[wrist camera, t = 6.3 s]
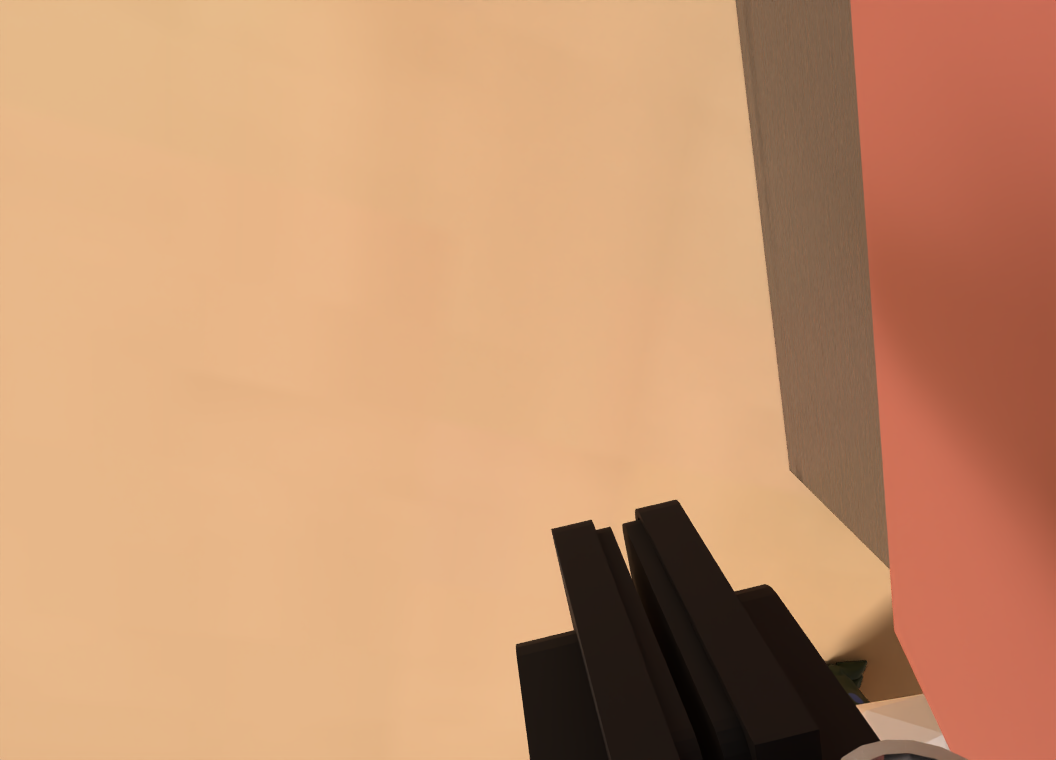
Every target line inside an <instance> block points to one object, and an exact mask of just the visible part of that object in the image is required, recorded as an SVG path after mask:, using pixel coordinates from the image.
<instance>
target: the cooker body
mask: <svg viewBox="0 0 1056 760" xmlns="http://www.w3.org/2000/svg"><path fill="white" fill-rule="evenodd" d="M736 7H737V16H738V24H739V33H740V42H741V50H742V59H743V68H744V76H745V85H746V94H747V102H748V111H749V120H750V128H751V137H752V146H753V154H754V163H755V172H756V180H757V189H758V198H759V206H760V215H761V224H762V232H763V241H764V250H765V259H766V267H767V276H768V285H769V293H770V302H771V311H772V319H773V328H774V337H775V345H776V354H777V363H778V371H779V380H780V389H781V397H782V406H783V415H784V423H785V432H786V441H787V449H788V458H789V467H790V471H791V472H792V473H793V474H794V475H795V476H796V477H797V478H798V479H799V480H800V481H801V482H802V483H803V484H804V485H805V486H806V487H807V488H808V489H809V490H810V491H811V492H812V493H813V494H814V495H815V496H816V497H817V498H818V499H819V500H820V501H821V502H822V503H823V504H824V505H825V506H826V507H827V508H828V509H829V510H830V511H831V512H832V513H833V514H835V515H836V516H837V517H838V518H839V519H840V520H841V521H842V522H843V523H844V524H845V525H846V526H847V527H848V528H849V529H850V530H851V531H852V532H853V533H854V534H855V535H856V536H857V537H858V538H859V539H860V540H861V541H862V542H863V543H864V544H865V545H866V546H867V547H868V548H869V549H870V550H871V551H872V552H873V553H874V554H875V555H876V556H877V557H878V558H879V559H880V560H881V561H882V562H883V563H884V564H885V565H886V566H887V567H888V568H889V569H890V563H889V548H888V534H887V520H886V505H885V491H884V477H883V462H882V448H881V434H880V419H879V405H878V391H877V376H876V362H875V348H874V333H873V319H872V305H871V290H870V276H869V262H868V247H867V233H866V219H865V204H864V190H863V176H862V161H861V147H860V133H859V118H858V104H857V90H856V75H855V61H854V46H853V32H852V18H851V3H850V0H736Z"/></svg>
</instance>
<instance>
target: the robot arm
mask: <svg viewBox="0 0 1056 760" xmlns="http://www.w3.org/2000/svg"><path fill="white" fill-rule="evenodd" d="M635 518H636V521H632V522H628V523H624V524H623V525H622V526H623V534H624V540H625V545H626V550H627V555H628V561H629V566H630V571H631V576H632V578H631V576H630V573H629V571H628V568H627V566H626V563H625V561H624V559H623V556H622V554H621V551H620V549H619V546H618V544H617V541H616V539H615V536H614V534H613V532H612V529H611V527H607V528H603V529H599V530H596V529H595V527H594V524H593V522H592V520H588V521H584V522H580V523H575V524H571V525H567V526H563V527H559V528H554V529H551V530H552V535H553V539H554V544H555V548H556V553H557V557H558V562H559V566H560V570H561V575H562V579H563V584H564V588H565V593H566V597H567V601H568V606H569V610H570V615H571V619H572V623H573V628H574V631H569V632H565V633H561V634H557V635H553V636H549V637H545V638H540V639H536V640H532V641H528V642H524V643H520V644H516V654H517V663H518V670H519V678H520V686H521V693H522V701H523V709H524V716H525V724H526V732H527V739H528V747H529V755H530V760H968V759H966V758H964V757H962V756H960V755H958V754H955V753H953V752H951V751H949V750H947V749H945V748H942V747H940V746H935V745H931V744H927V743H923V742H918V741H914V740H883V741H880V739H879V738H878V736H877V735H876V733H875V732H874V731H873V729H872V728H871V726H870V725H869V724H868V722H867V721H866V719H865V718H864V716H863V715H862V714H861V712H860V711H859V709H858V708H857V707H856V705H855V704H854V702H853V701H852V700H851V698H850V697H849V695H848V694H847V692H846V691H845V690H844V688H843V687H842V685H841V684H840V683H839V681H838V680H837V678H836V677H835V675H834V674H833V673H832V671H831V670H830V668H829V667H828V666H827V664H826V663H825V661H824V660H823V658H822V657H821V656H820V654H819V653H818V651H817V650H816V649H815V647H814V646H813V644H812V643H811V641H810V640H809V639H808V637H807V636H806V634H805V633H804V632H803V630H802V629H801V627H800V626H799V624H798V623H797V622H796V620H795V619H794V617H793V616H792V615H791V613H790V612H789V610H788V609H787V607H786V606H785V605H784V603H783V602H782V600H781V599H780V598H779V596H778V595H777V593H776V592H775V591H774V590H773V589H772V588H771V587H770V586H768V585H766V584H764V585H760V586H756V587H752V588H748V589H743V590H739V591H735V592H734V590H733V589H732V587H731V586H730V584H729V582H728V581H727V579H726V578H725V576H724V574H723V573H722V571H721V569H720V568H719V566H718V565H717V563H716V561H715V560H714V558H713V556H712V555H711V553H710V552H709V550H708V548H707V547H706V545H705V544H704V542H703V540H702V539H701V537H700V535H699V534H698V532H697V531H696V529H695V527H694V526H693V524H692V522H691V521H690V519H689V518H688V516H687V514H686V513H685V511H684V510H683V508H682V506H681V505H680V503H679V502H678V501H677V500H672V501H668V502H664V503H660V504H656V505H651V506H647V507H643V508H639V509H636V510H635Z"/></svg>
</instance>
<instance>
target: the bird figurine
mask: <svg viewBox="0 0 1056 760" xmlns="http://www.w3.org/2000/svg"><path fill="white" fill-rule="evenodd" d="M866 665H867V661H866V660H863V661H850V662H843V663H842V662H837V663H836V665H828V667H829V668H830V670H831V671H832V673H833V674H834V675H835V677H836V678H837V680H838V681H839V683H840V684H841V685H842V687H843V688H844V690H845V691H846V692H847V694H848V695H849V697H850V698H851V700H852V701H853V702H854V704H855V705H856V707H857V708H858V709H859V711H860V712H861V714H862V715H863V716H864V718H865V719H866V721H867V722H868V724H869V725H870V726H871V728H872V729H873V731H874V732H875V733H876V735H877V736H878V738H879V739H880V741H883V740H914V741H918V742H923V743H927V744H931V745H935V746H940V747H942V748H945V749H947V750H949V751H950V749H949V747H948V745H947V743H946V741H945V738H944V736H943V734H942V732H941V730H940V728H939V726H938V723H937V721H936V719H935V717H934V715H933V713H932V711H931V708H930V706H929V704H928V702H927V700H926V698H925V696H924V694H919V695H913V696H907V697H901V698H895V699H889V700H883V701H877V702H870V701H868V700H867V699H866V698H865V696H864V695H863V694H862V693H861V691H860V690H859V688H860V685H861V682H862V678H863V676H862V674H863V672H864V671H865V668H866Z"/></svg>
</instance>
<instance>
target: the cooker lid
mask: <svg viewBox="0 0 1056 760" xmlns="http://www.w3.org/2000/svg"><path fill="white" fill-rule="evenodd" d="M850 3H851V18H852V32H853V46H854V61H855V75H856V90H857V104H858V118H859V133H860V147H861V161H862V176H863V190H864V204H865V219H866V233H867V247H868V262H869V276H870V290H871V305H872V319H873V333H874V348H875V362H876V376H877V391H878V405H879V419H880V434H881V448H882V462H883V477H884V491H885V505H886V520H887V534H888V548H889V563H890V577H891V591H892V606H893V620H894V631H895V633H896V636H897V638H898V640H899V642H900V644H901V646H902V648H903V651H904V653H905V655H906V657H907V659H908V661H909V663H910V666H911V668H912V670H913V672H914V674H915V676H916V678H917V681H918V683H919V685H920V687H921V689H922V691H923V693H924V696H925V698H926V700H927V702H928V704H929V706H930V708H931V711H932V713H933V715H934V717H935V719H936V721H937V723H938V726H939V728H940V730H941V732H942V734H943V736H944V738H945V741H946V743H947V745H948V747H949V749H950V751H951V752H953V753H955V754H958V755H960V756H962V757H964V758H966V759H968V760H1056V0H850Z"/></svg>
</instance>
